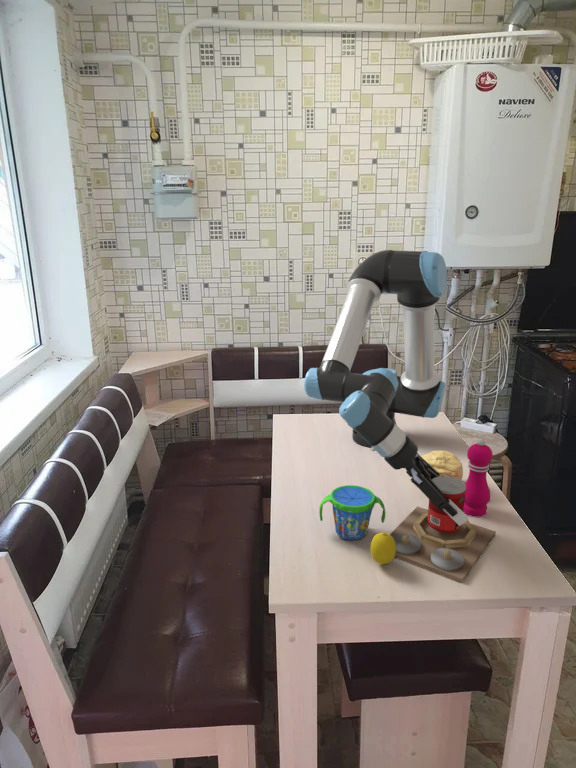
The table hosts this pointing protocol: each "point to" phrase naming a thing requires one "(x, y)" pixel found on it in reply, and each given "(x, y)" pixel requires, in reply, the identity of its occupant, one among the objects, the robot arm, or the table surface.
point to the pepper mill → (477, 480)
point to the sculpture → (445, 463)
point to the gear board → (440, 545)
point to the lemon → (383, 548)
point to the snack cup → (352, 510)
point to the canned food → (456, 494)
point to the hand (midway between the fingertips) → (460, 512)
